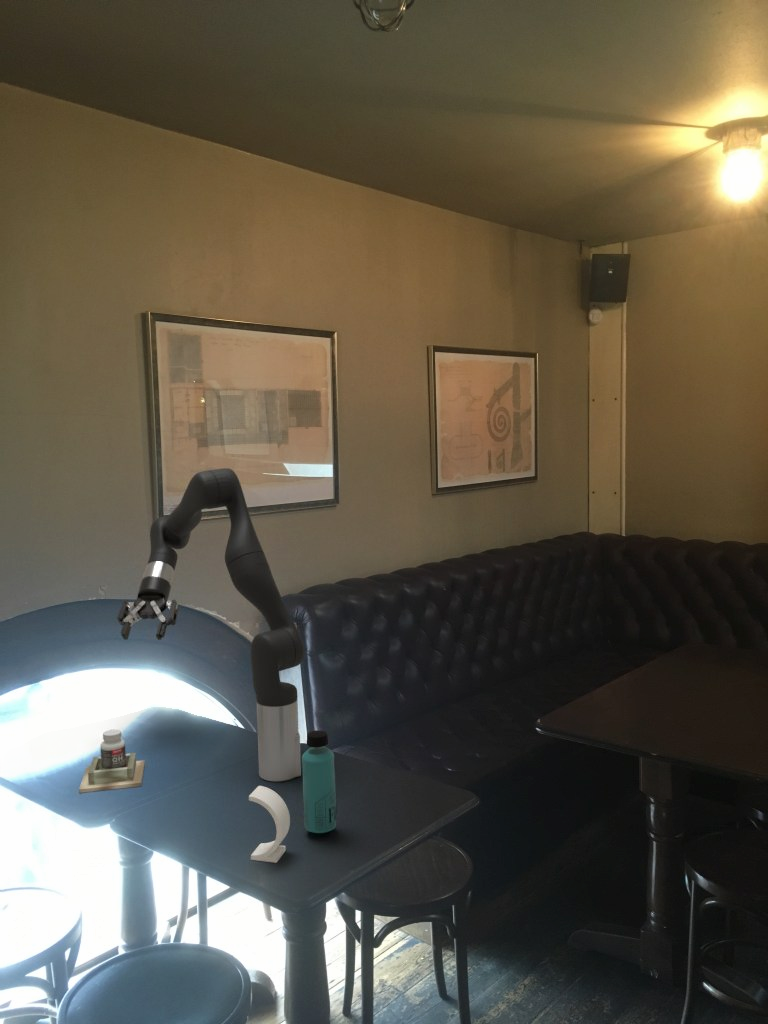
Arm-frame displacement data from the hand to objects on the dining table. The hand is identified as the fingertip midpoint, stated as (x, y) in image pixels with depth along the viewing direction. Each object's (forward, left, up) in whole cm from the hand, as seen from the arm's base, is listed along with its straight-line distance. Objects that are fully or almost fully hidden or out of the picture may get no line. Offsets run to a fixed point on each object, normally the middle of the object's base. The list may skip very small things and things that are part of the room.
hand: (141, 638), depth 197 cm
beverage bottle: (-36, +53, -29) cm, 70 cm away
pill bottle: (+6, +14, -28) cm, 32 cm away
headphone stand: (-26, +59, -29) cm, 70 cm away
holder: (+6, +15, -28) cm, 33 cm away
